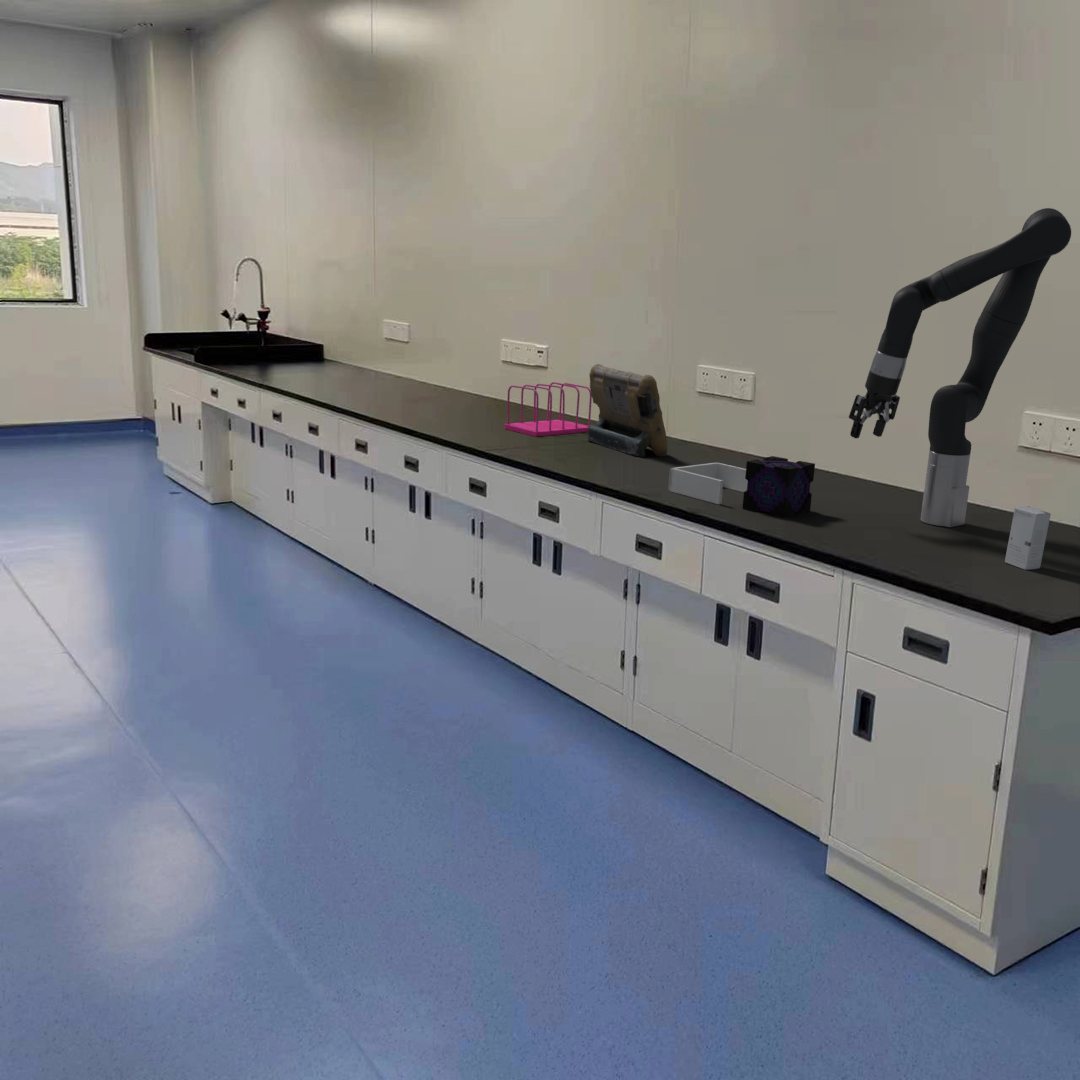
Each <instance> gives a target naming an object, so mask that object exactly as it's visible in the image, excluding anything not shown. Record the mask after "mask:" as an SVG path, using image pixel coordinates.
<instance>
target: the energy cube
mask: <svg viewBox="0 0 1080 1080" xmlns="http://www.w3.org/2000/svg"><path fill="white" fill-rule="evenodd" d="M745 469H746V475H745V479H746V480H748V484H747V490H746V491H745V492H743V500H742V510H747V511H752V512H757V513H760V512H766V513H768V514H769V515H771V516H774V517H779V518H784V519H785V518H791V517H794V516H795V513H798V514H804V513H809V512H810V511H811V506H812V499H813V497H812V495H813V494H812V493H811V489H810V488H811V483H813V482H814V479H815V478H814V477H815V469H816V463H814V462H808V461H802V460H797V461H791V460H790V461H789V458H786V457H780V456H774V455H771V456H766V457H763V460H759V459H751V460H747V461H746V465H745Z"/></svg>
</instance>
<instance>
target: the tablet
mask: <svg viewBox="0 0 1080 1080" xmlns="http://www.w3.org/2000/svg"><path fill="white" fill-rule="evenodd" d="M589 381H590V382H589V389H590V390H591V395H592V403H593V404H595V405H596V406H597V407H598V409H599V414H598V420H597V421H596V423H593V424H590V425H589V428H588V432H587V434H588V436H587V441H589V442H591V443H594V444H597V445H599V446H602V447H605V448H608V449H612V450H615V451H617V452H620V453H624V454H628V455H631V456H636V457H640V458H645V457H646V449H648V448H650V449H651V451H652V453H654V454H655V456H657V457H659V458H660V457H661V458H662V457H667V456H668V449H669V447H668V446H669V443H668V437H667V433H666V427H665V424H664V420H663V418H664V417H663V412H662V408H661V404H660V401H661V399H660V397H661V396H660V393H659V389H658V383H657V380H656V378H655V377H654V376H653V375H650V374H644V375H642V374H639V373H635V372H631V371H626V370H625V371H624V370H621V369H616V368H611V367H607V366H604V365H603V364H599V363H597V364H594V365H593V366H591V369H590V371H589Z"/></svg>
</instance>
